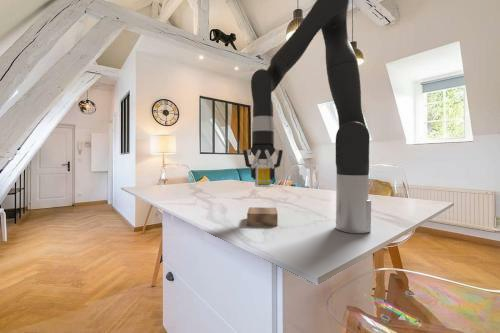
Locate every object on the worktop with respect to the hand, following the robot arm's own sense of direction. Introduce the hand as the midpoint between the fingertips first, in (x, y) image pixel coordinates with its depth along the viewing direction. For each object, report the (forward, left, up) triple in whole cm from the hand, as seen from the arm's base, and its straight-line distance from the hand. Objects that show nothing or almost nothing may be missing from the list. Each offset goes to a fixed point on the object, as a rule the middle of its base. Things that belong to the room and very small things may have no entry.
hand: (262, 179), depth 81 cm
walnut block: (0, 0, -15) cm, 15 cm away
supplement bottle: (0, 0, -3) cm, 3 cm away
